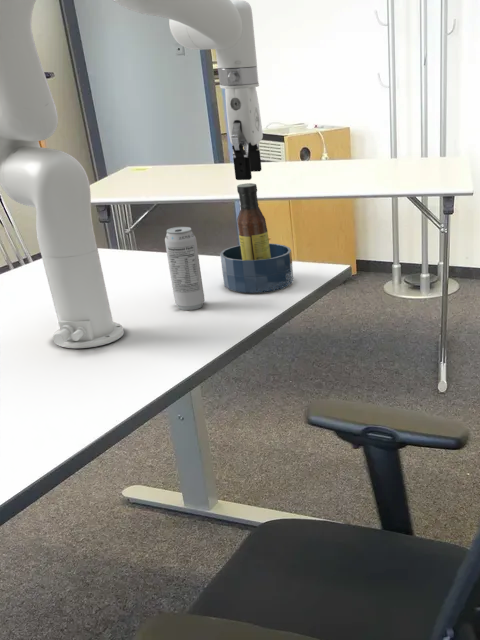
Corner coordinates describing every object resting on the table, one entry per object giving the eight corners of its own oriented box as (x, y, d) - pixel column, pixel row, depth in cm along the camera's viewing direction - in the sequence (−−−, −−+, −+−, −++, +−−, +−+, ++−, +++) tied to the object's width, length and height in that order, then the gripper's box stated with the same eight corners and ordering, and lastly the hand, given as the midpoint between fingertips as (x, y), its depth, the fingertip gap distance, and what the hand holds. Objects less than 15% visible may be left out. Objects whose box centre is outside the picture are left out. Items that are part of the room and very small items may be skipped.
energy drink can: (207, 301, 160) (197, 225, 151) (202, 310, 155) (190, 232, 146) (179, 302, 160) (167, 226, 152) (172, 311, 155) (159, 233, 147)
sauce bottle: (275, 278, 171) (267, 181, 160) (270, 286, 166) (261, 186, 155) (247, 278, 172) (237, 182, 161) (241, 286, 167) (229, 187, 156)
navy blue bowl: (286, 294, 162) (284, 260, 159) (216, 294, 164) (212, 260, 160) (298, 274, 175) (296, 242, 171) (233, 275, 176) (229, 243, 172)
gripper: (248, 81, 140) (258, 182, 150) (266, 74, 154) (274, 168, 164) (208, 82, 141) (221, 183, 151) (230, 76, 155) (240, 168, 165)
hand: (249, 175), depth 157 cm, fingers open, 9 cm apart
